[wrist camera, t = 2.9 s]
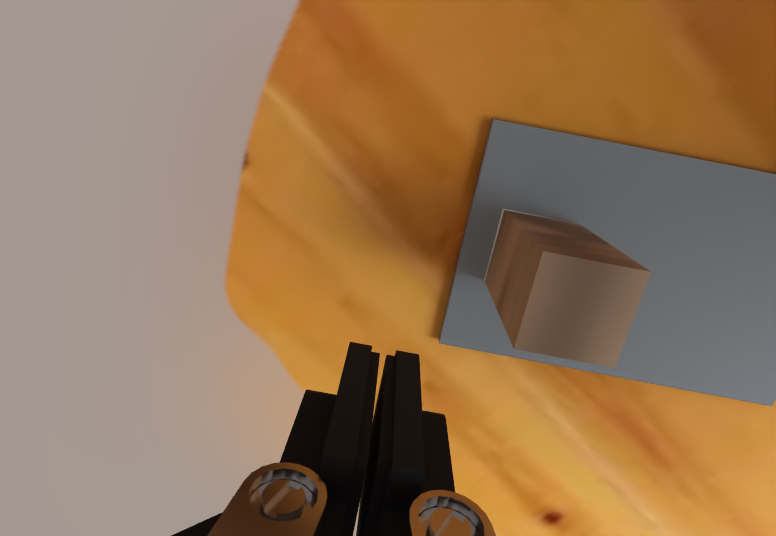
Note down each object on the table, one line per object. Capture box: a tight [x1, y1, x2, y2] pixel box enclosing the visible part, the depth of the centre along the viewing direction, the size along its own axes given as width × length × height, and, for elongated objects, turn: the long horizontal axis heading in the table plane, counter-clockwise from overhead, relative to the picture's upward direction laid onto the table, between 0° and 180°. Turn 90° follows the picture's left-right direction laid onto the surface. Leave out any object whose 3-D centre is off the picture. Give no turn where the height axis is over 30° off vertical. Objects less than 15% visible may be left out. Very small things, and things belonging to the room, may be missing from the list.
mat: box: [439, 119, 776, 406], centre depth 29 cm, size 22×14×1 cm, turn 79°
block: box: [484, 209, 651, 368], centre depth 25 cm, size 4×4×9 cm
